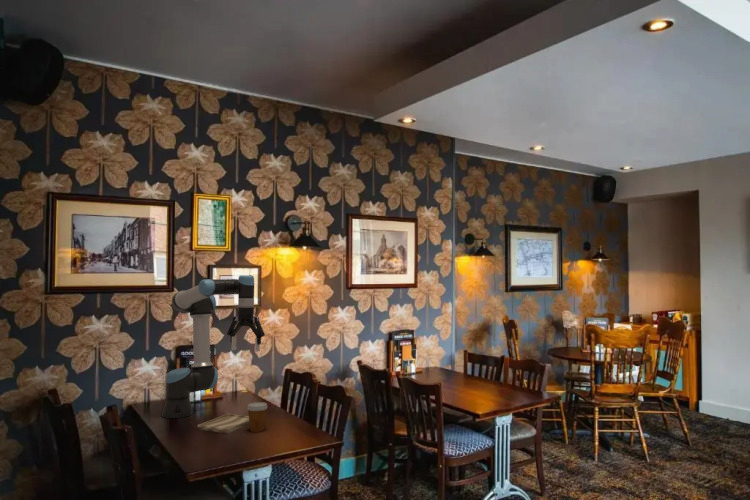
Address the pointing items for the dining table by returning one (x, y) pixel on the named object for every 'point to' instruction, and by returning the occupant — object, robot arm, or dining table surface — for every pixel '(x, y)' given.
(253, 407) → the disposable coffee cup
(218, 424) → the striped beige cloth
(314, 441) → the dining table surface
